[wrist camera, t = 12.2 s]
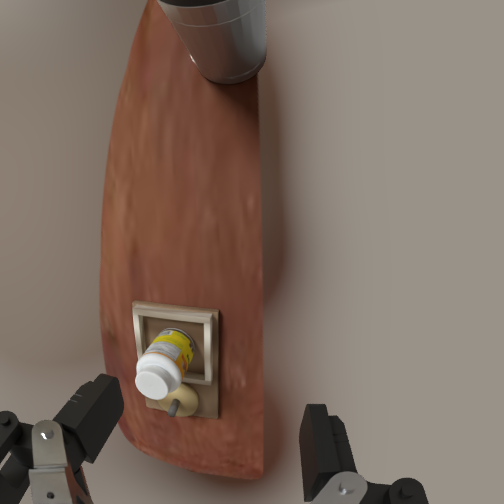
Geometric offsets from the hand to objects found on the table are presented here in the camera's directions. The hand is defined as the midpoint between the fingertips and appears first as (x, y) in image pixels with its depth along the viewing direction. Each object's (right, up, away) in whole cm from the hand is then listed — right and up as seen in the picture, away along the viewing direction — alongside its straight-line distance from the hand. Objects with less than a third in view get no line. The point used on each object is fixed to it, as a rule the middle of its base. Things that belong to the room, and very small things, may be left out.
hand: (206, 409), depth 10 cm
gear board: (-9, -10, +29) cm, 32 cm away
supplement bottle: (-9, -6, +27) cm, 29 cm away
